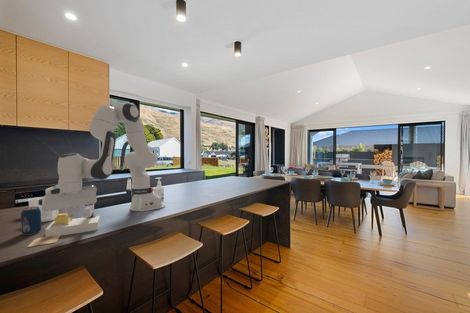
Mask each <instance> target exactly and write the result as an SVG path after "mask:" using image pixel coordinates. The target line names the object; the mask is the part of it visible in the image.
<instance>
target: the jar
mask: <svg viewBox="0 0 470 313" xmlns="http://www.w3.org/2000/svg"><path fill="white" fill-rule="evenodd" d="M38 201H39V204H38V207H39V209H40V210H41V223H46V222H51V221H52V222H53V221H55V219H54V218H55V217H56V216H57V215H58V214H60V213H59V212H60V209H59V210H54V211H48V212H44V211H43V210H42V201H43V199H40V200H38Z"/></svg>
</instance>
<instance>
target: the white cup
mask: <svg viewBox="0 0 470 313" xmlns="http://www.w3.org/2000/svg"><path fill="white" fill-rule="evenodd" d="M43 197H44V196H40V197H33V198H32V197H31V198H28V208H29V207H38V204H39V201H38V200H40V199H43Z"/></svg>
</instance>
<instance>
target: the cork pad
mask: <svg viewBox="0 0 470 313" xmlns="http://www.w3.org/2000/svg"><path fill="white" fill-rule="evenodd" d="M60 237H61V235H56V236H50V237H46V236H41V237H36V238H34V239H33V240H32V241H31V242H30V243H29V244H28V245H27V248H33V247H40V246H45V245H46V246H47V245H51V244H56V243H57V242H58V241H59V239H60Z"/></svg>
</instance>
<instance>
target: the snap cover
mask: <svg viewBox="0 0 470 313" xmlns="http://www.w3.org/2000/svg"><path fill="white" fill-rule="evenodd" d="M54 219H55V220H54V221H55V225H59V224H66V223H69V222H70V219H71V217H67V213H66V212H63V213H59V214H58V215H57V216H56V217H55V218H54Z"/></svg>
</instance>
